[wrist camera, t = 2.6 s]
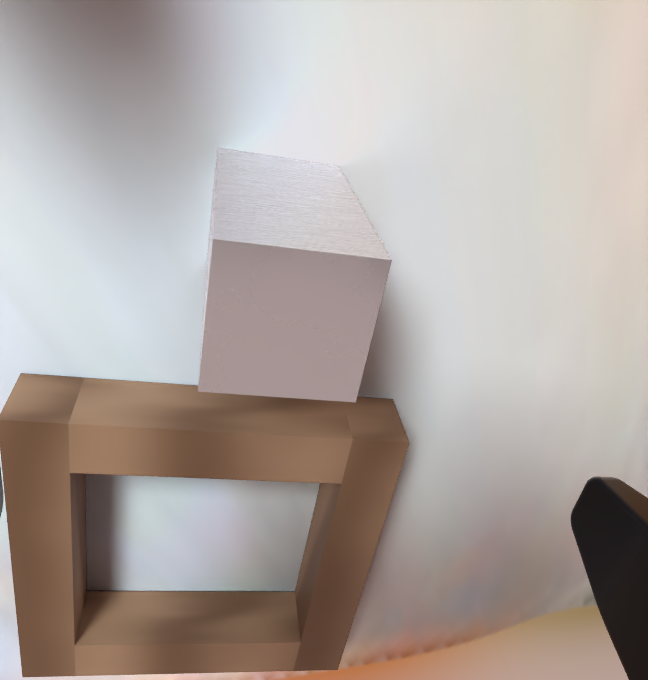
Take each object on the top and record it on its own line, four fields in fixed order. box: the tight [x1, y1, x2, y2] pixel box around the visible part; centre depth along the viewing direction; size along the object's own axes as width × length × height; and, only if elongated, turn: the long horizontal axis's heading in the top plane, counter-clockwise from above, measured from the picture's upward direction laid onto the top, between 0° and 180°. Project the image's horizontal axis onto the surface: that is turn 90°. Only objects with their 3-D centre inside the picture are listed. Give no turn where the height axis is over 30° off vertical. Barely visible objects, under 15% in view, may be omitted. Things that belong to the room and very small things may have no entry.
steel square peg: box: [198, 148, 392, 402], centre depth 16 cm, size 4×4×7 cm
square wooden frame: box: [0, 373, 409, 677], centre depth 24 cm, size 13×13×2 cm
